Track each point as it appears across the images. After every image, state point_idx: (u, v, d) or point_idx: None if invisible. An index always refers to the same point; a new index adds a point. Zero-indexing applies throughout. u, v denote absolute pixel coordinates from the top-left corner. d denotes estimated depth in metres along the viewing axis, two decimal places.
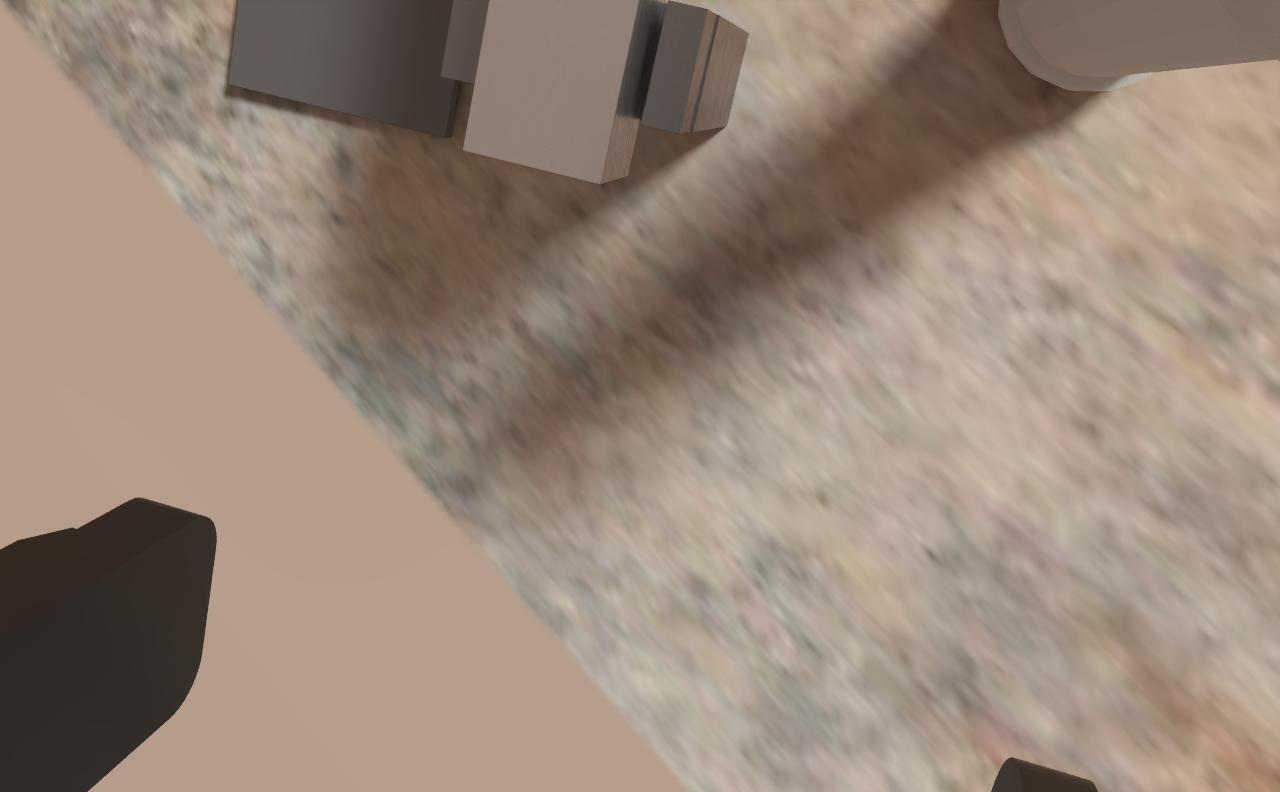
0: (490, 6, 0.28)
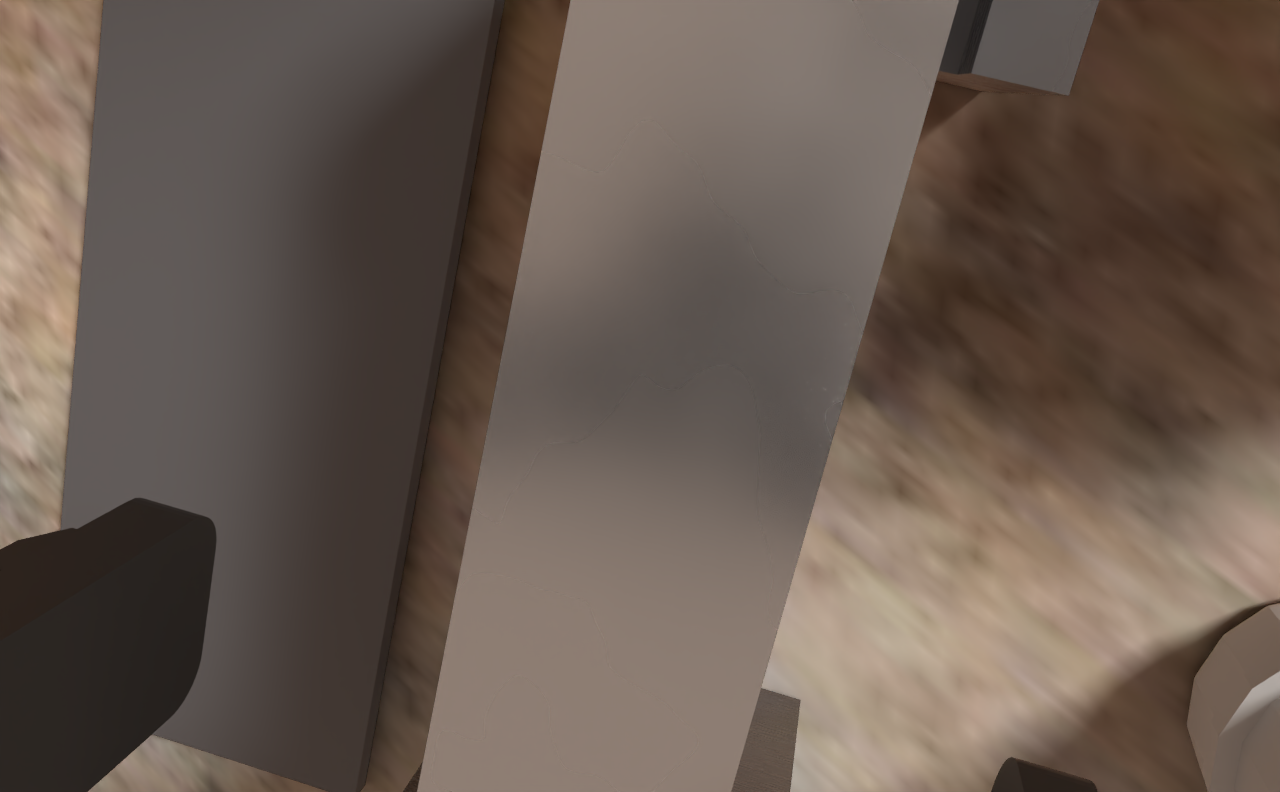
0: None
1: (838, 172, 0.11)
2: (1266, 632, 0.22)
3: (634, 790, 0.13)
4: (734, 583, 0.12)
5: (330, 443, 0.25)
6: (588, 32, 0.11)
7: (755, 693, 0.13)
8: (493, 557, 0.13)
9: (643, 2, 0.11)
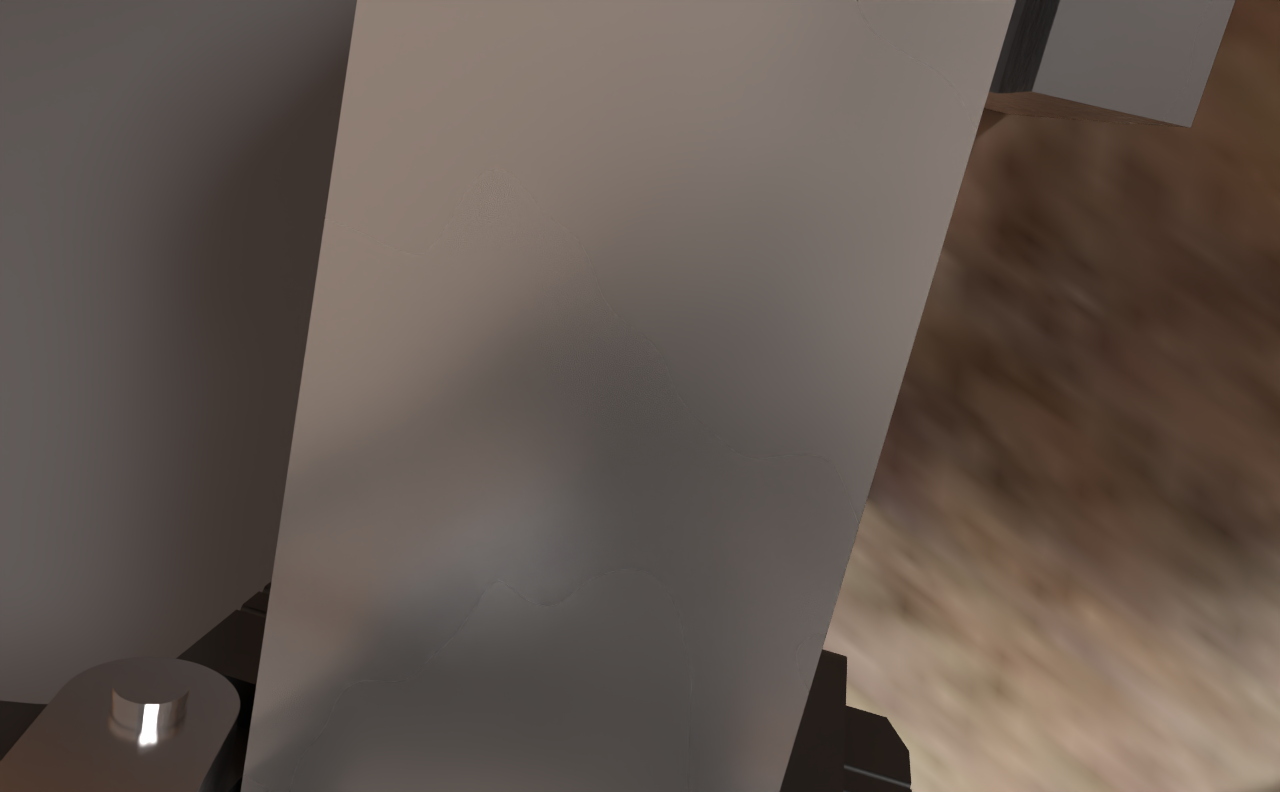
0: None
1: (816, 260, 0.06)
2: None
3: None
4: None
5: (204, 542, 0.20)
6: (393, 22, 0.07)
7: None
8: None
9: None
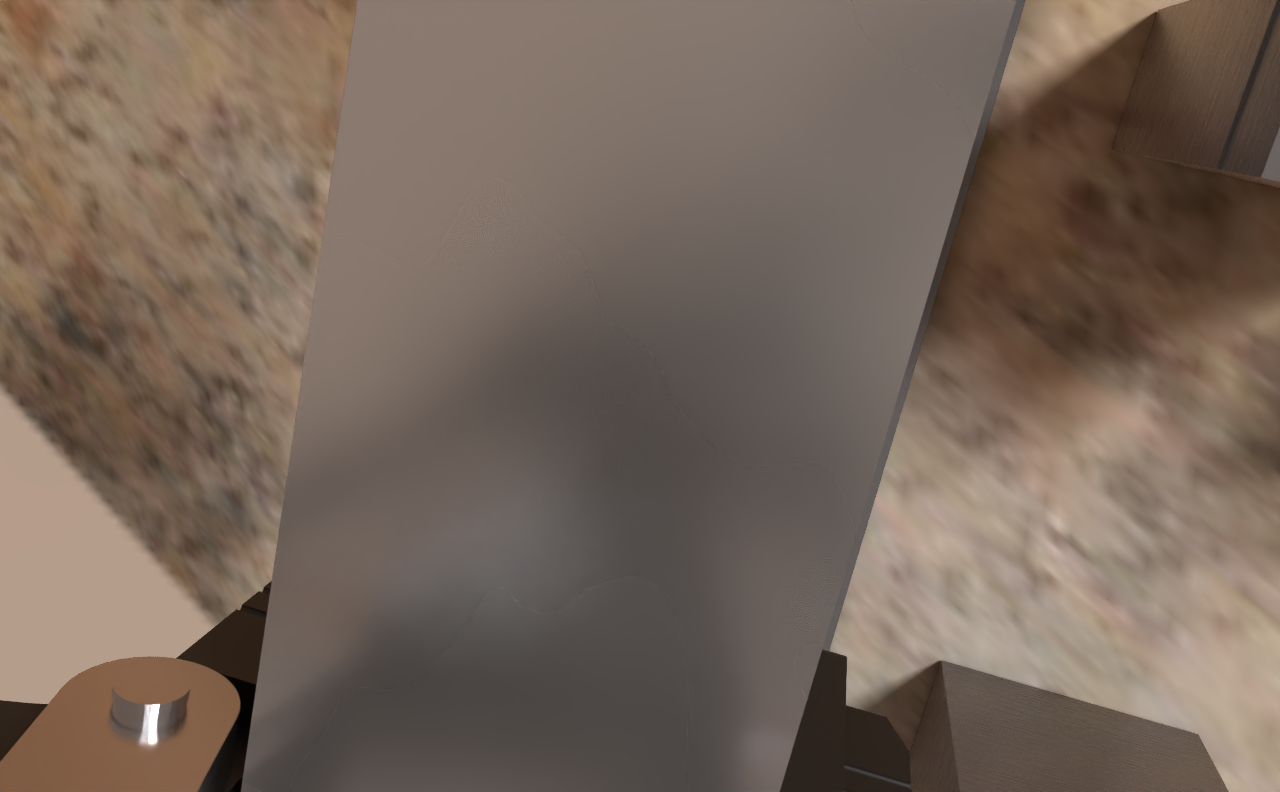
0: None
1: (814, 269, 0.06)
2: None
3: None
4: None
5: None
6: (391, 31, 0.07)
7: None
8: None
9: None
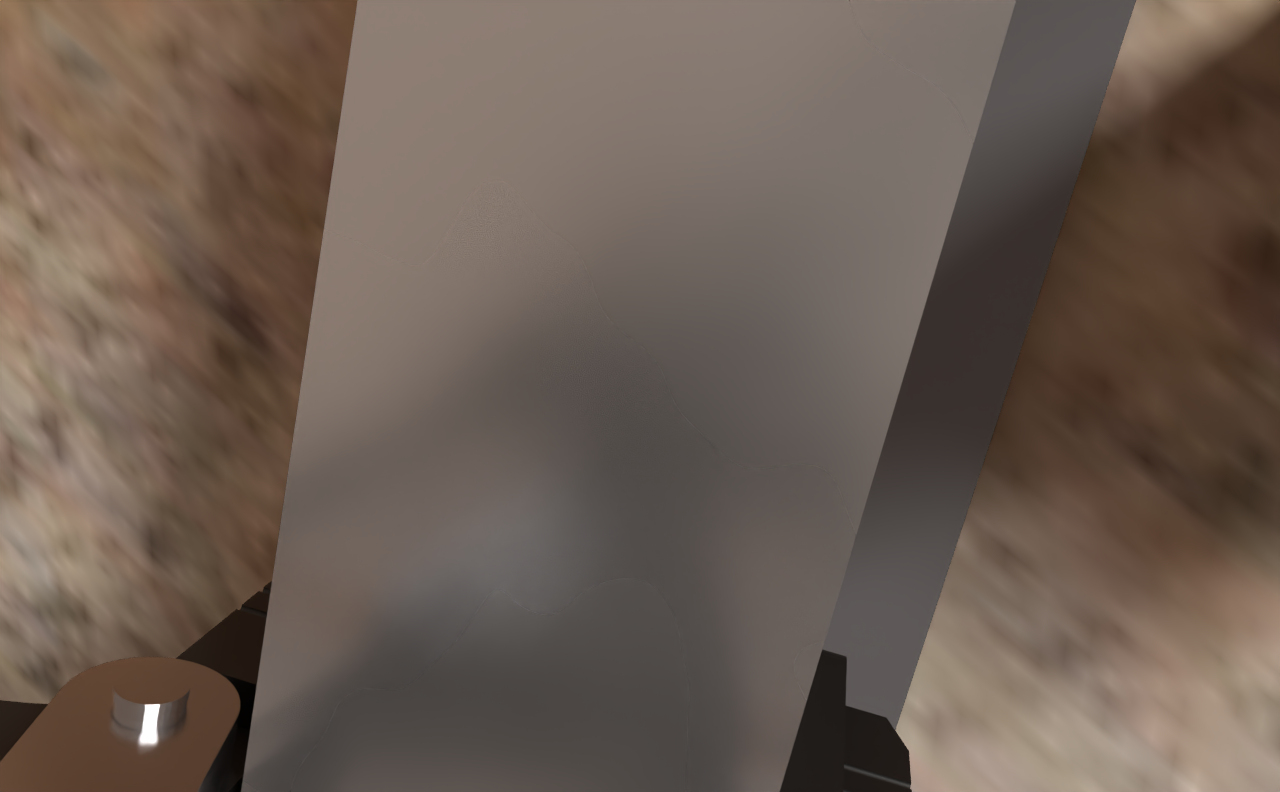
0: None
1: (814, 271, 0.06)
2: None
3: None
4: None
5: None
6: (392, 33, 0.07)
7: None
8: None
9: None
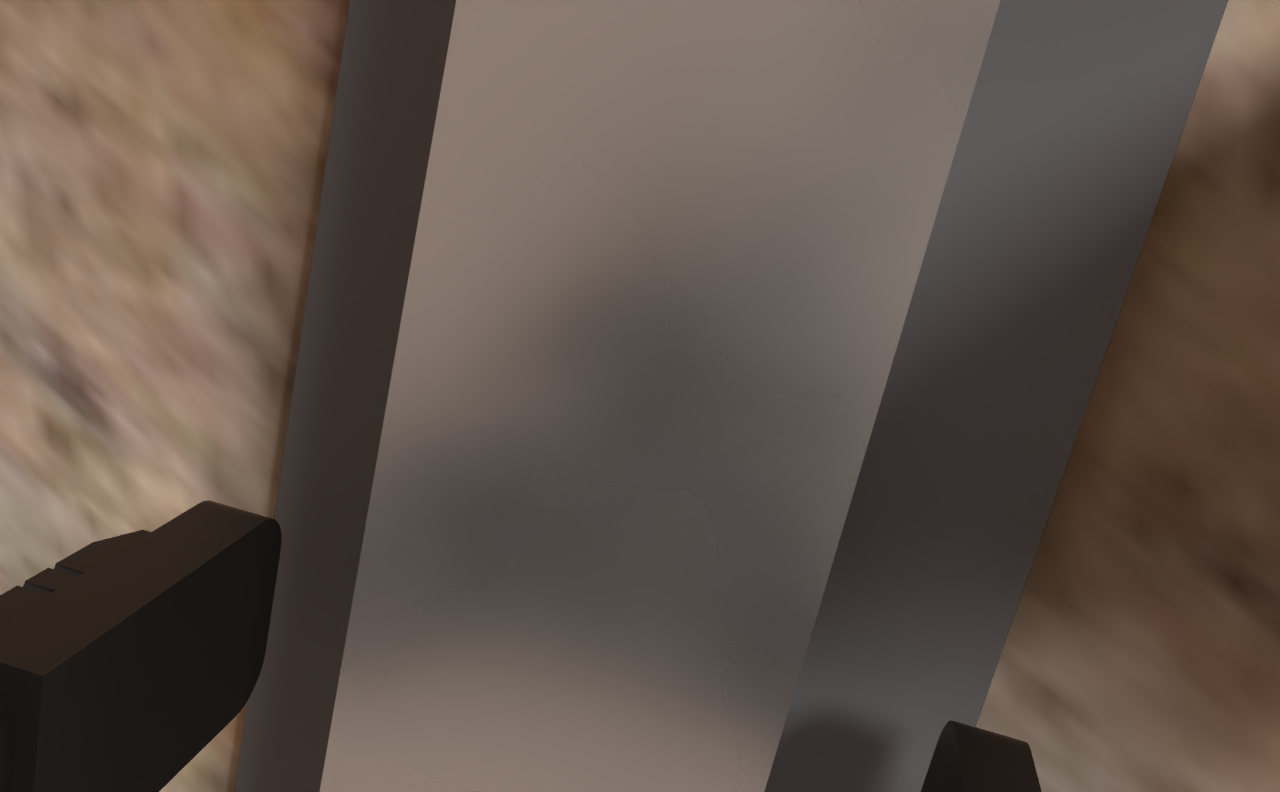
0: None
1: (832, 231, 0.08)
2: None
3: None
4: (692, 778, 0.09)
5: None
6: (483, 34, 0.08)
7: None
8: (370, 736, 0.10)
9: None
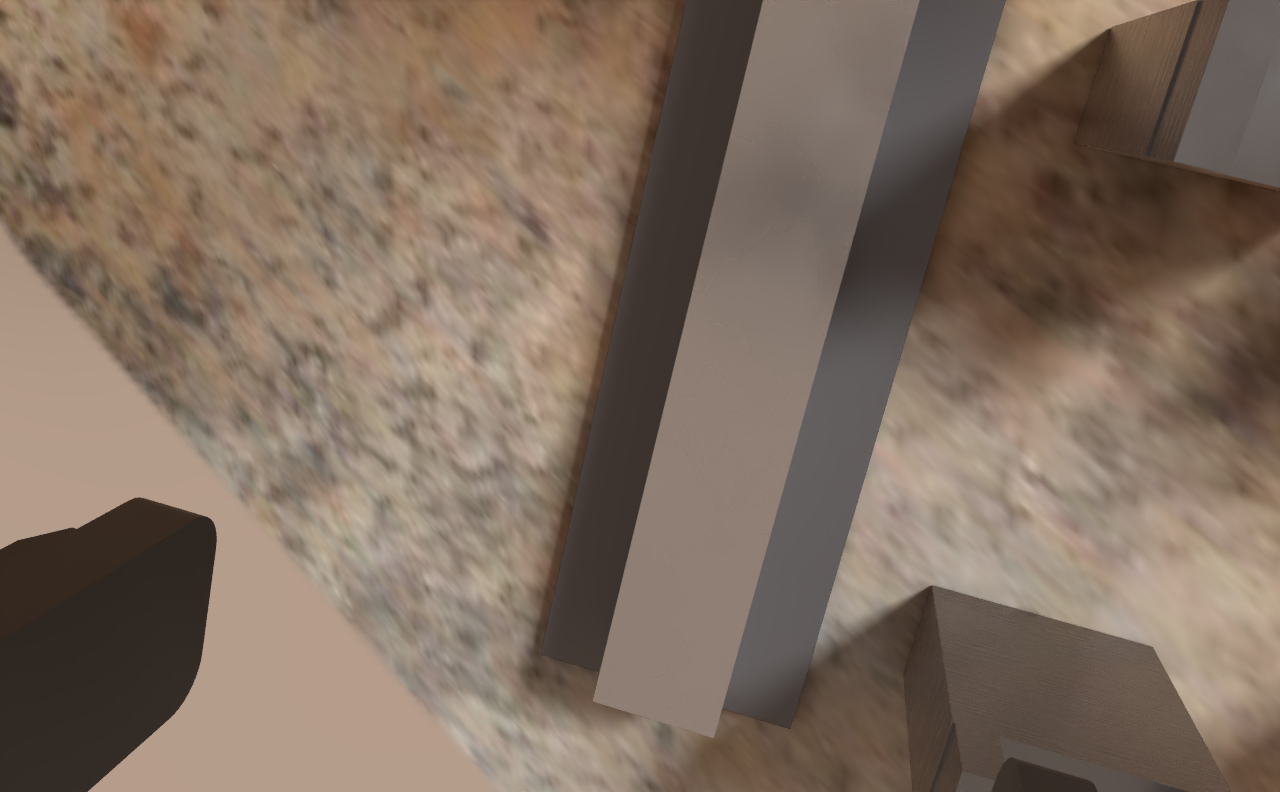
0: (620, 593, 0.32)
1: (852, 142, 0.28)
2: None
3: (760, 418, 0.30)
4: (807, 318, 0.29)
5: (801, 454, 0.33)
6: (752, 86, 0.28)
7: (815, 369, 0.29)
8: (701, 311, 0.29)
9: (774, 74, 0.28)
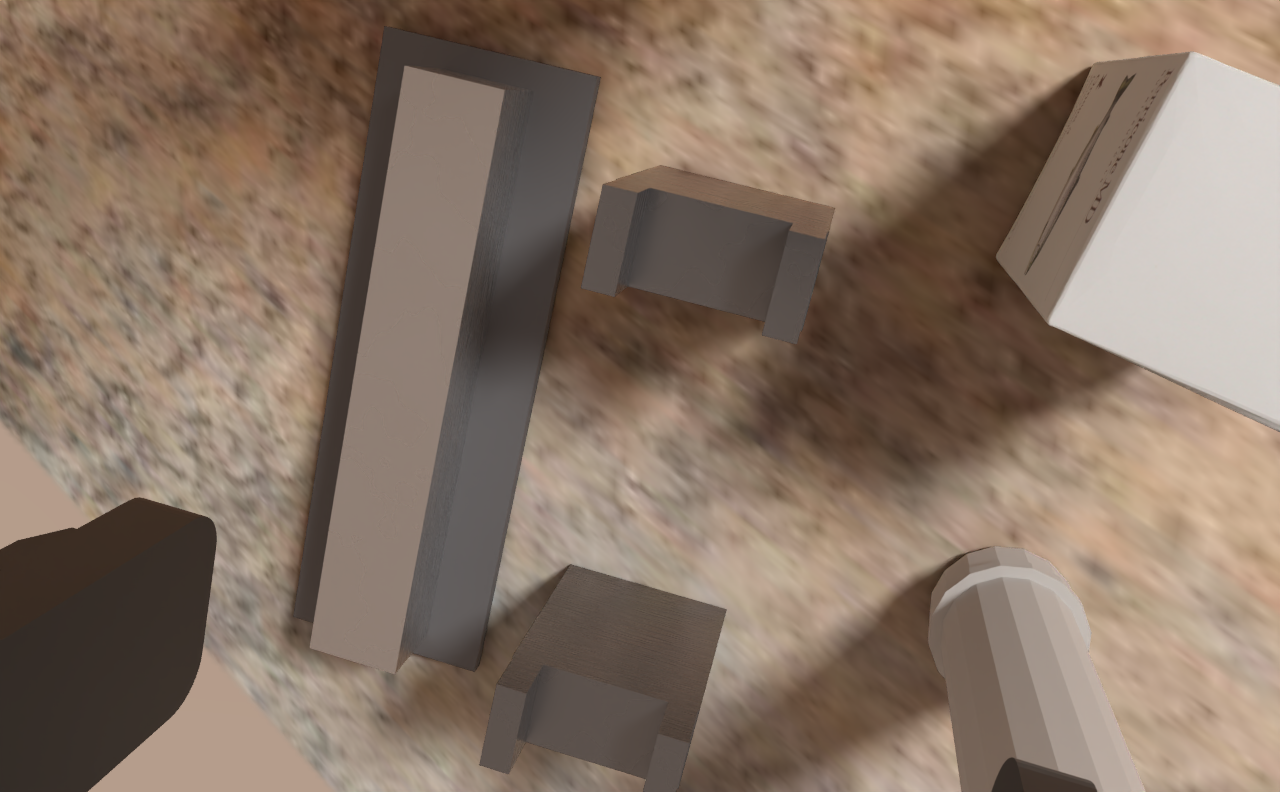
0: (323, 568, 0.44)
1: (455, 253, 0.40)
2: (961, 566, 0.42)
3: (409, 443, 0.42)
4: (435, 373, 0.41)
5: (468, 468, 0.46)
6: (386, 213, 0.40)
7: (443, 409, 0.41)
8: (364, 368, 0.41)
9: (401, 206, 0.40)
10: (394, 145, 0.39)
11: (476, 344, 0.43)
